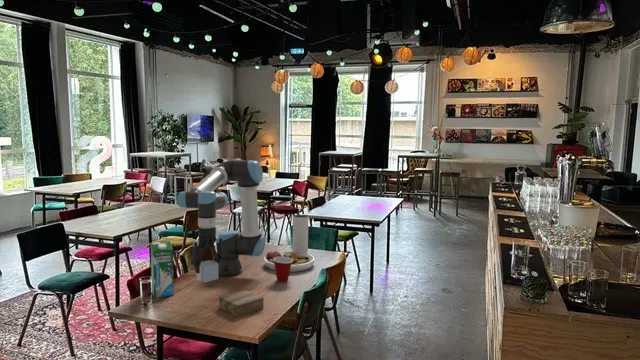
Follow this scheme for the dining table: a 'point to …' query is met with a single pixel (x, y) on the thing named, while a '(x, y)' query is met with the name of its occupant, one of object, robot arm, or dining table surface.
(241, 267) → the robot arm
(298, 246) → the speaker
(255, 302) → the walnut block
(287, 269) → the plastic cup
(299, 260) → the bowl
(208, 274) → the slate cube
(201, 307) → the dining table surface
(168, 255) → the milk carton
